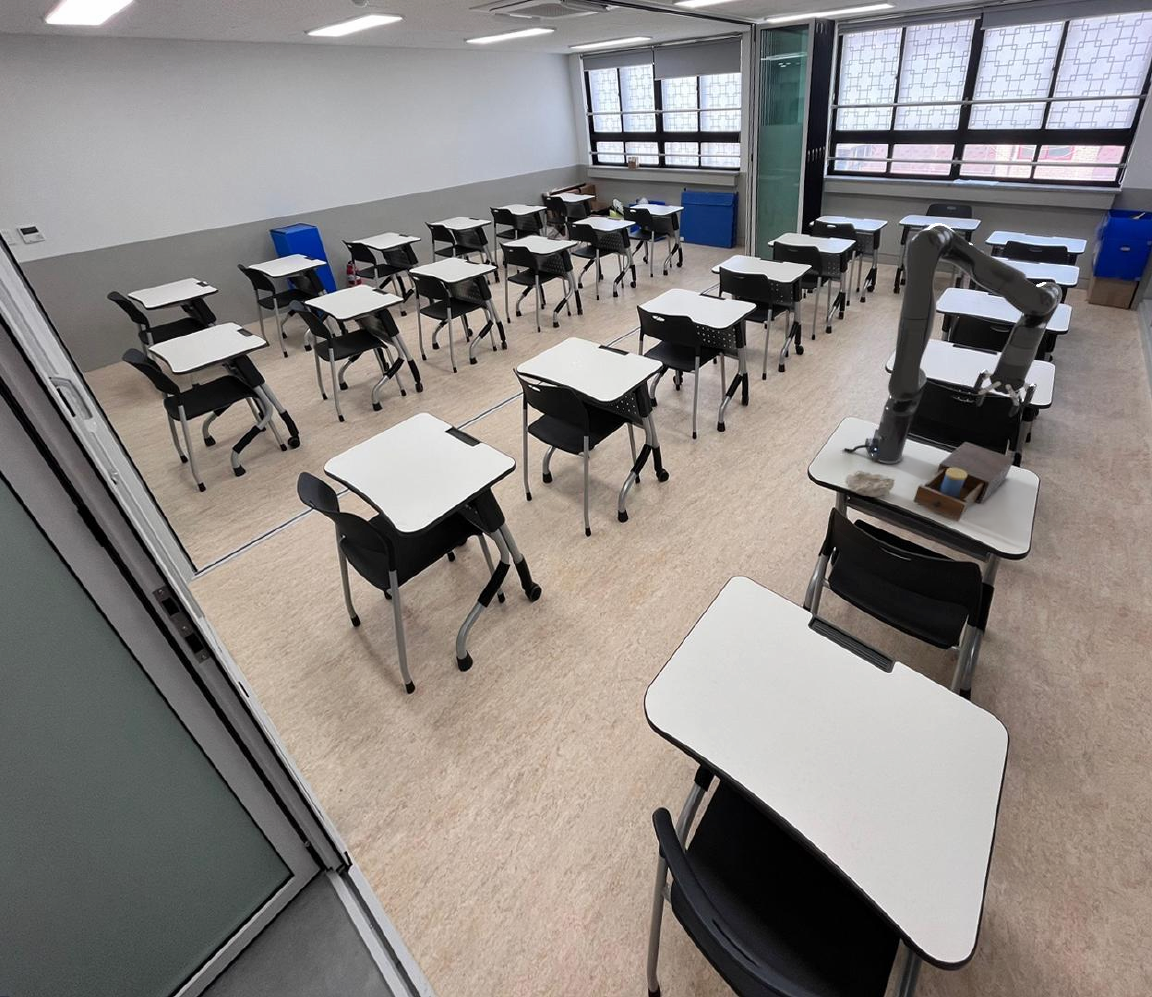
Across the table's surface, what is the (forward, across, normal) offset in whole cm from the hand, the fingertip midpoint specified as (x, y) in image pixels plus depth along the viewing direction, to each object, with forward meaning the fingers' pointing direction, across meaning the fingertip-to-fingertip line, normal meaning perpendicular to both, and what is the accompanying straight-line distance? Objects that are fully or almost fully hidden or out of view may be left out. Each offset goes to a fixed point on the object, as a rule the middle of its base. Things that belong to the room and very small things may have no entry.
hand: (994, 410), depth 168 cm
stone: (+28, -19, -23) cm, 42 cm away
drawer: (+27, 0, -12) cm, 30 cm away
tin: (+26, 0, -13) cm, 29 cm away
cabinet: (+28, 0, +4) cm, 28 cm away
